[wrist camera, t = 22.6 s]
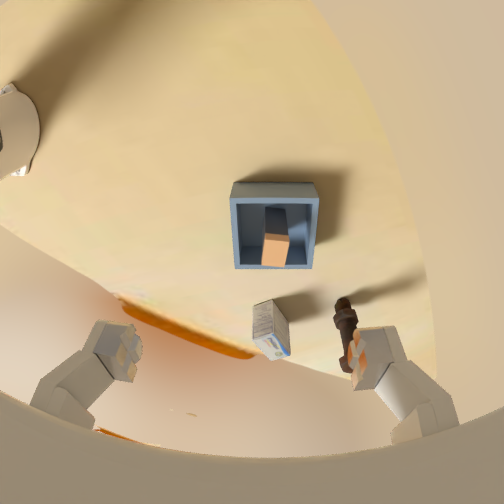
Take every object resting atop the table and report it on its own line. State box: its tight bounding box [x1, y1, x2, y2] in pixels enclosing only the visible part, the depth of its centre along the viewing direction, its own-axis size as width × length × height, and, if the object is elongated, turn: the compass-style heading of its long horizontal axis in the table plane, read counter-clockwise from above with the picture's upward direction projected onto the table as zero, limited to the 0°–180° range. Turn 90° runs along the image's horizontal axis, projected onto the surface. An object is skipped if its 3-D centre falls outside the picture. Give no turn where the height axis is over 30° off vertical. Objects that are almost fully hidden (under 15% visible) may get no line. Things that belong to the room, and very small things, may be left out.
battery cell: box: [261, 207, 289, 267], centre depth 40 cm, size 3×4×9 cm
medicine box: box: [252, 300, 291, 360], centre depth 53 cm, size 8×4×9 cm, turn 28°
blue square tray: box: [230, 182, 319, 269], centre depth 42 cm, size 12×12×6 cm
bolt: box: [333, 298, 358, 373], centre depth 48 cm, size 6×5×15 cm
